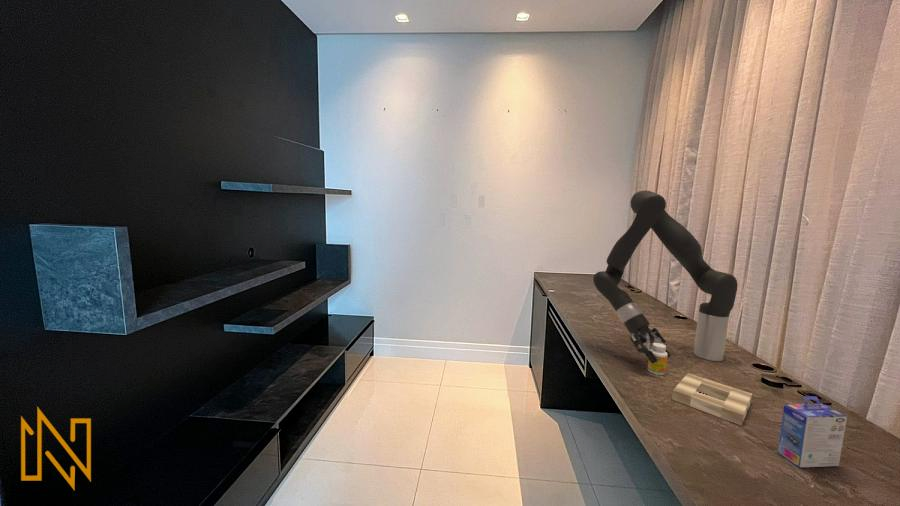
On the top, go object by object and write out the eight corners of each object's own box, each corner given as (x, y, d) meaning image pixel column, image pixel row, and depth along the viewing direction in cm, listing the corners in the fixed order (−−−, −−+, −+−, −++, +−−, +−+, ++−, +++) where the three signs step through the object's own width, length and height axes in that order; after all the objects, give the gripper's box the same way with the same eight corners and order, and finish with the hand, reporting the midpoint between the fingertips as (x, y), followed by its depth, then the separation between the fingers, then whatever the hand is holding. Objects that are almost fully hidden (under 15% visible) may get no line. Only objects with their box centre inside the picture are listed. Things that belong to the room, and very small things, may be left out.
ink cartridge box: (812, 449, 82) (823, 393, 80) (840, 467, 76) (852, 406, 74) (774, 450, 81) (784, 393, 79) (799, 468, 76) (811, 407, 74)
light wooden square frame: (686, 381, 113) (687, 373, 112) (750, 403, 101) (752, 393, 101) (671, 399, 102) (673, 389, 101) (741, 425, 90) (743, 415, 90)
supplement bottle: (648, 373, 118) (651, 346, 116) (646, 366, 123) (649, 340, 121) (666, 376, 116) (670, 349, 114) (663, 369, 121) (666, 343, 119)
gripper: (629, 315, 119) (660, 360, 111) (650, 309, 126) (681, 351, 119) (613, 325, 124) (641, 368, 116) (635, 319, 132) (663, 359, 124)
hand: (661, 359), depth 117 cm, fingers open, 8 cm apart
